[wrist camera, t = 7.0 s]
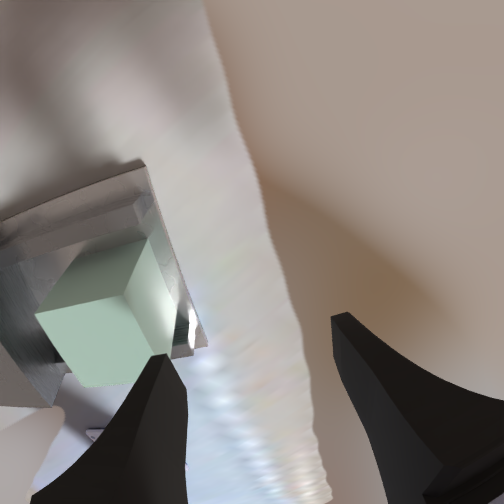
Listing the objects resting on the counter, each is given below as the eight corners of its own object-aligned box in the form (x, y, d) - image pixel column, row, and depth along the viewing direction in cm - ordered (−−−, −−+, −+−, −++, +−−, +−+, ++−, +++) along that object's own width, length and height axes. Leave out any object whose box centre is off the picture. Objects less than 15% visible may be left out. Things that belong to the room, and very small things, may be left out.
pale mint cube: (176, 311, 19) (167, 378, 14) (107, 325, 19) (84, 387, 14) (148, 238, 17) (123, 294, 12) (73, 259, 17) (34, 314, 12)
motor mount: (207, 341, 21) (208, 405, 16) (18, 367, 21) (-4, 413, 16) (140, 147, 15) (106, 168, 10) (-56, 237, 15) (-99, 271, 10)
